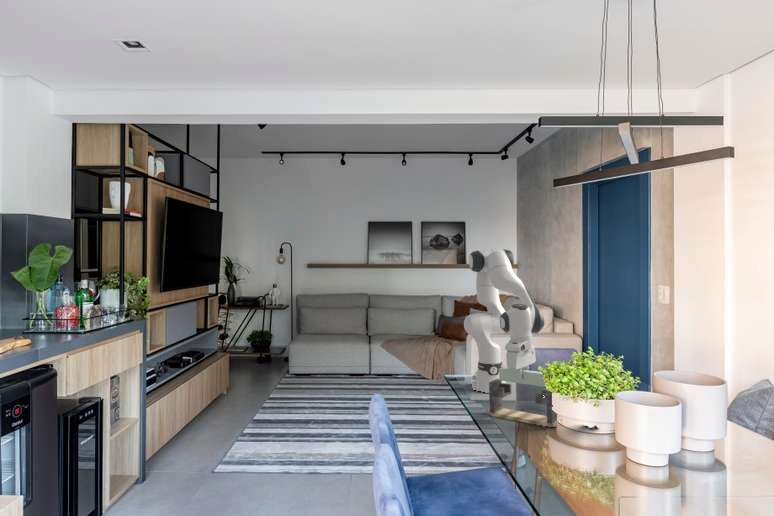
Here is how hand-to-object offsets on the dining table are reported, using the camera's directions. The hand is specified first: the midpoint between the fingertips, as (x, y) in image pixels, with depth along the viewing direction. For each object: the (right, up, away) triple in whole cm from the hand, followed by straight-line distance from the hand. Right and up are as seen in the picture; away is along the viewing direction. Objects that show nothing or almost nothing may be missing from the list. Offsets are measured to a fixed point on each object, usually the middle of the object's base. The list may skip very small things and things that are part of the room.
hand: (522, 377), depth 205 cm
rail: (0, -2, 0) cm, 2 cm away
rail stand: (+1, -17, 0) cm, 17 cm away
